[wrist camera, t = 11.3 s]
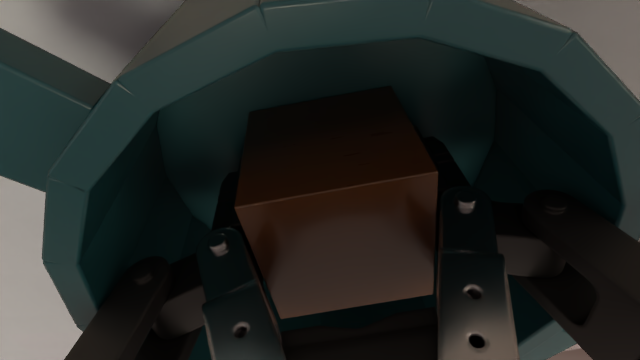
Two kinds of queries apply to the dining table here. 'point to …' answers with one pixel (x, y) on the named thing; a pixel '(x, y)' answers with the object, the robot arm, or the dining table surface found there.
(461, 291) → the robot arm
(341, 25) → the green cooking pot
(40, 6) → the dining table surface
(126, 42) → the dining table surface
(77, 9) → the dining table surface
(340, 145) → the block
